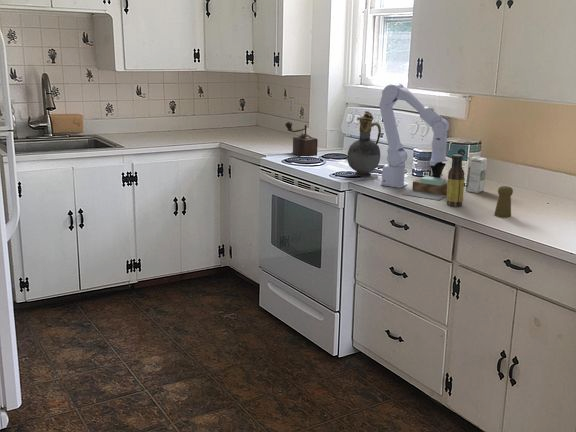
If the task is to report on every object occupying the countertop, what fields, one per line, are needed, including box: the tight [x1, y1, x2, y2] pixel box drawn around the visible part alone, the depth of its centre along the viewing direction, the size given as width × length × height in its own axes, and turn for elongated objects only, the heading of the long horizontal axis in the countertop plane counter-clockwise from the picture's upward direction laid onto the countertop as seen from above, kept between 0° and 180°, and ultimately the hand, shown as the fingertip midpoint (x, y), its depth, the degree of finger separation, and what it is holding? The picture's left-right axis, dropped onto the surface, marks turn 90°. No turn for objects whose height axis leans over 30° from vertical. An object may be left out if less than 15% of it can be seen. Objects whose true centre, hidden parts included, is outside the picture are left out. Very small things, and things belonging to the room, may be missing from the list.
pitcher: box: [346, 110, 382, 178], centre depth 299 cm, size 11×19×30 cm, turn 133°
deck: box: [411, 177, 448, 197], centre depth 273 cm, size 15×12×4 cm
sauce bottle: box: [446, 153, 465, 208], centre depth 247 cm, size 6×6×20 cm
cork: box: [493, 185, 514, 219], centre depth 235 cm, size 6×6×11 cm
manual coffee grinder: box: [285, 121, 318, 157], centre depth 349 cm, size 16×11×18 cm
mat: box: [401, 189, 447, 201], centre depth 265 cm, size 16×9×1 cm, turn 56°
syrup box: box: [465, 156, 488, 194], centre depth 272 cm, size 6×6×14 cm
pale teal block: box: [419, 175, 447, 186], centre depth 269 cm, size 9×6×2 cm, turn 57°
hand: (436, 179), depth 272 cm, fingers closed
